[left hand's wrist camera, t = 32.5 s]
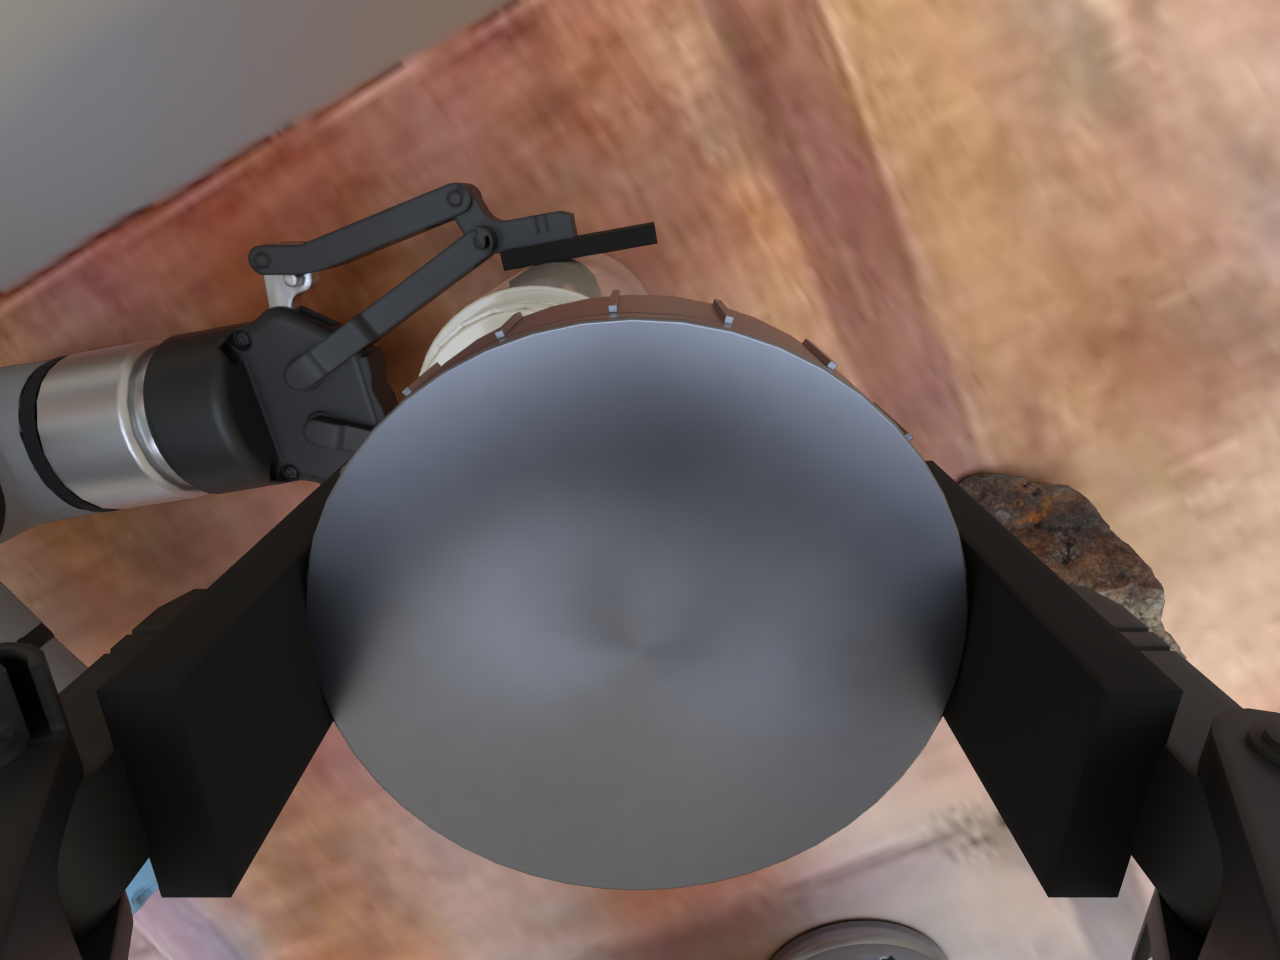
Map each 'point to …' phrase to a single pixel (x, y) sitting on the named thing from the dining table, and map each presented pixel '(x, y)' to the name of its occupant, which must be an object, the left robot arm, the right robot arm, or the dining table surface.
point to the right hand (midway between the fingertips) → (670, 335)
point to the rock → (1073, 542)
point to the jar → (532, 299)
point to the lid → (637, 596)
